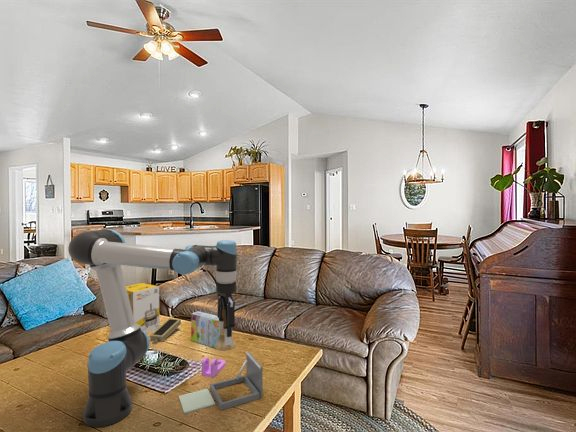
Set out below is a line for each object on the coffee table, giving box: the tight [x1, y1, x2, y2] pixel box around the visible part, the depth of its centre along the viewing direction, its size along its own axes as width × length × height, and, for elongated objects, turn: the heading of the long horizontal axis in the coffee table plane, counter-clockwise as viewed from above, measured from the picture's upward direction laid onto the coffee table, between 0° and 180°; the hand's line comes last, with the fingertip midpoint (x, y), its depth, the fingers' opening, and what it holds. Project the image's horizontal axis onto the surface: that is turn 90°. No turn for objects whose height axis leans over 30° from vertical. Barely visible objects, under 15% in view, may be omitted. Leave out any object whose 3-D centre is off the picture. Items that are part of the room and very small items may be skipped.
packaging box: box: [126, 282, 161, 334], centre depth 192 cm, size 16×16×25 cm
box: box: [149, 317, 182, 345], centre depth 184 cm, size 8×22×5 cm, turn 169°
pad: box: [178, 388, 216, 415], centre depth 123 cm, size 11×11×1 cm
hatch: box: [209, 350, 264, 411], centre depth 128 cm, size 16×15×12 cm
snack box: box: [190, 310, 220, 349], centre depth 174 cm, size 21×6×15 cm, turn 58°
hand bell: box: [214, 309, 237, 352], centre depth 126 cm, size 8×8×16 cm
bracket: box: [201, 357, 226, 378], centre depth 147 cm, size 13×6×7 cm, turn 164°
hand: (225, 340), depth 126 cm, fingers closed on hand bell, 6 cm apart
